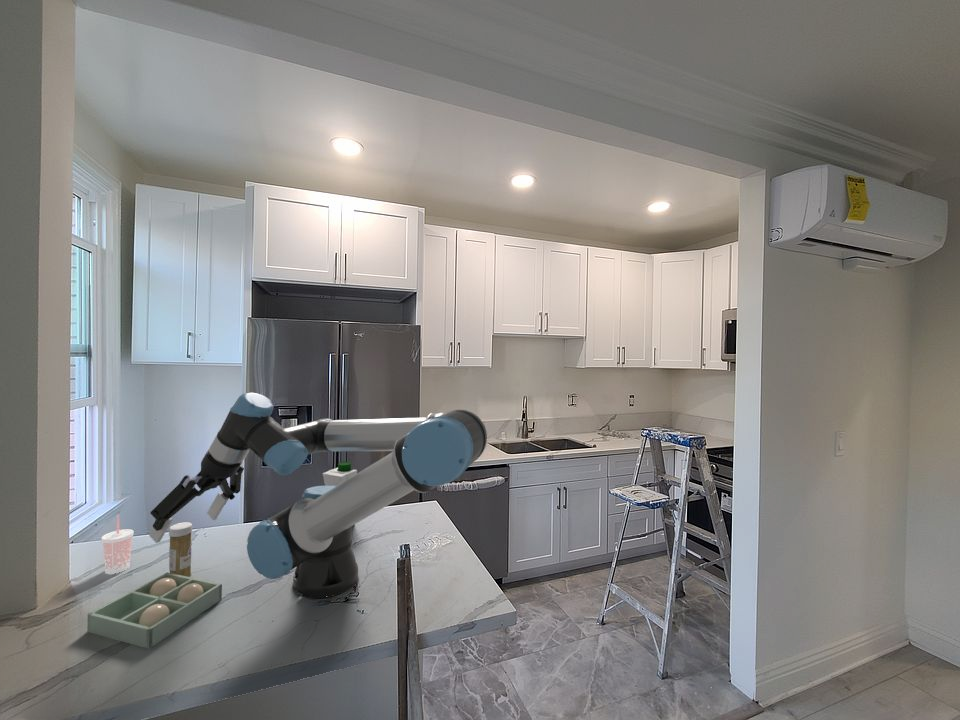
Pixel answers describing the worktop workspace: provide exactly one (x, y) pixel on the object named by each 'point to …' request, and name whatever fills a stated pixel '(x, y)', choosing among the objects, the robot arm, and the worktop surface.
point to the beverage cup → (117, 549)
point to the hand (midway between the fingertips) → (184, 526)
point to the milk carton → (339, 474)
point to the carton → (126, 610)
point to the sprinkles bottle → (180, 549)
